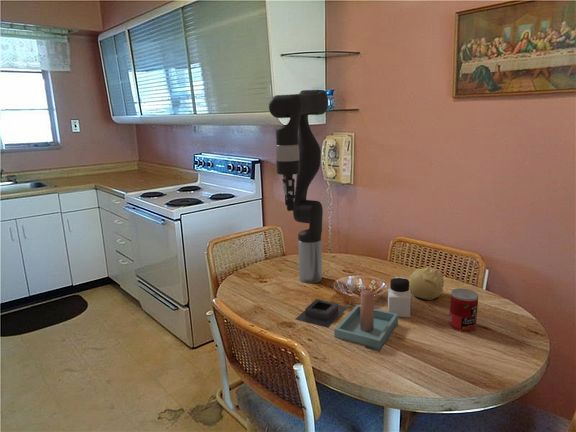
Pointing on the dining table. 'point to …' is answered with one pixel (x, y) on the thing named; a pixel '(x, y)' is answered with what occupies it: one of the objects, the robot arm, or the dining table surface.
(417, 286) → the pale yellow round lump
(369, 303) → the dowel
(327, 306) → the holder
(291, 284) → the dining table surface
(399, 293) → the medicine bottle
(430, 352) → the dining table surface
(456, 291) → the canned food
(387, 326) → the tray
